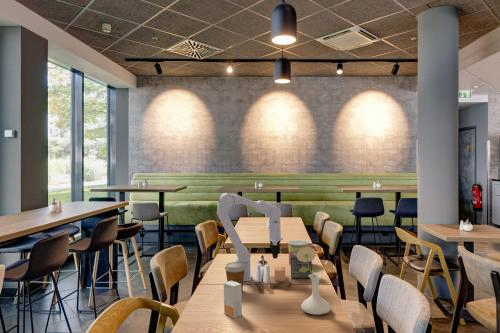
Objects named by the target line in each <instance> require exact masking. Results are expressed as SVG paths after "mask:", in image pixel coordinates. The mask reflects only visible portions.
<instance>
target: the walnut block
mask: <svg viewBox="0 0 500 333" xmlns="http://www.w3.org/2000/svg"><path fill="white" fill-rule="evenodd" d="M285 279H286V281H275V276H269V289H290V277H289V276H285Z"/></svg>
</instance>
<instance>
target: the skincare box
mask: <svg viewBox="0 0 500 333" xmlns="http://www.w3.org/2000/svg"><path fill="white" fill-rule="evenodd" d="M242 293H243V290H242V287H241V284H240V283H237V282H234V281H228V282H227V281H226V282H223V313H224V314H225V315H227V316H229V317H232V318H233V319H236V318H238V317H240V316H242V315H243V307H242V306H243V305H242V304H243V302H242V301H243V298H242V297H243V296H242Z"/></svg>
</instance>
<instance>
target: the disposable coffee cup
mask: <svg viewBox="0 0 500 333" xmlns="http://www.w3.org/2000/svg"><path fill="white" fill-rule="evenodd" d="M245 268H246V267H245V264H244V263H241V262H232V261H231V262H227V263H226V264H225V266H224V270H225V275H226V280H227V281H226V282H228V281H234V282H237V283H240V284H241V287H242V291H243V289H244V288H243V287H244V281H243V280H244V271H245Z"/></svg>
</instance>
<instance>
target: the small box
mask: <svg viewBox="0 0 500 333" xmlns="http://www.w3.org/2000/svg"><path fill="white" fill-rule="evenodd" d="M308 264H309V268H310V270H311V271H312V273H313V260H311V261H308V262H303V261H299V260H298V258H297V256H296V255H291V265H290V279H291V280H292V279H296V280H298V279H299V280H300V279H301V280H311V279H310V277H309V275H310V274H312V273H311V271H310V270H308V271H307V272H300V271H299V269H301V268H302V267H306V268H308ZM309 268H308V269H309Z"/></svg>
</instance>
